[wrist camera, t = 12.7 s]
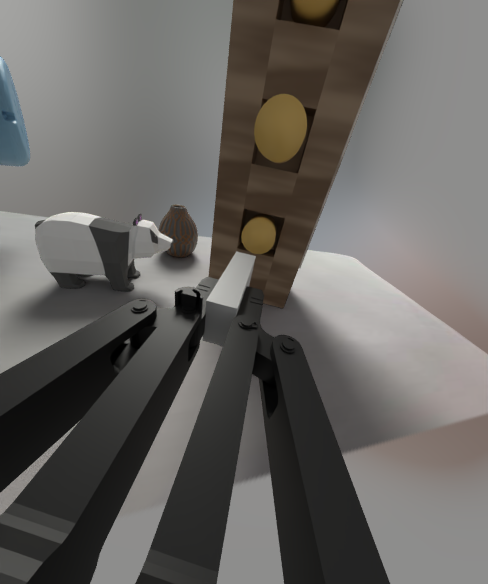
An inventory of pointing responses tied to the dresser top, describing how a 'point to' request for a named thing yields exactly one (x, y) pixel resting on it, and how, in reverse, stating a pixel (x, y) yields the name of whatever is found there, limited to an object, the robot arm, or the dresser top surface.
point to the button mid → (280, 128)
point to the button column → (319, 135)
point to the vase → (179, 231)
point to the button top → (313, 11)
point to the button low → (259, 234)
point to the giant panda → (96, 247)
